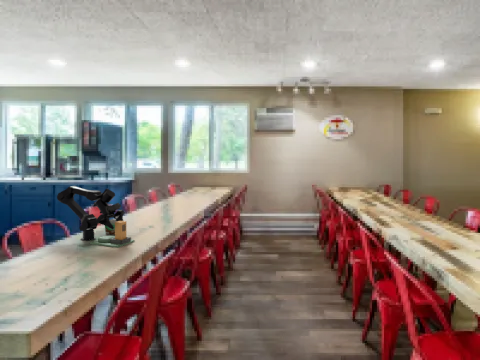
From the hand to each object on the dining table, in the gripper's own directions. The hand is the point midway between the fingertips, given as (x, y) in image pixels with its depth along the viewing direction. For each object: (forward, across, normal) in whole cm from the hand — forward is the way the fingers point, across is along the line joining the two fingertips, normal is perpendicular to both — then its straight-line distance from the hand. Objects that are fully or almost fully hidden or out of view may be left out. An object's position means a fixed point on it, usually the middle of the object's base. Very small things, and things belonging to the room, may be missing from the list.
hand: (118, 227), depth 191 cm
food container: (-6, +19, +21) cm, 29 cm away
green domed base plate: (+4, 0, +10) cm, 11 cm away
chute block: (+7, 0, +5) cm, 9 cm away
